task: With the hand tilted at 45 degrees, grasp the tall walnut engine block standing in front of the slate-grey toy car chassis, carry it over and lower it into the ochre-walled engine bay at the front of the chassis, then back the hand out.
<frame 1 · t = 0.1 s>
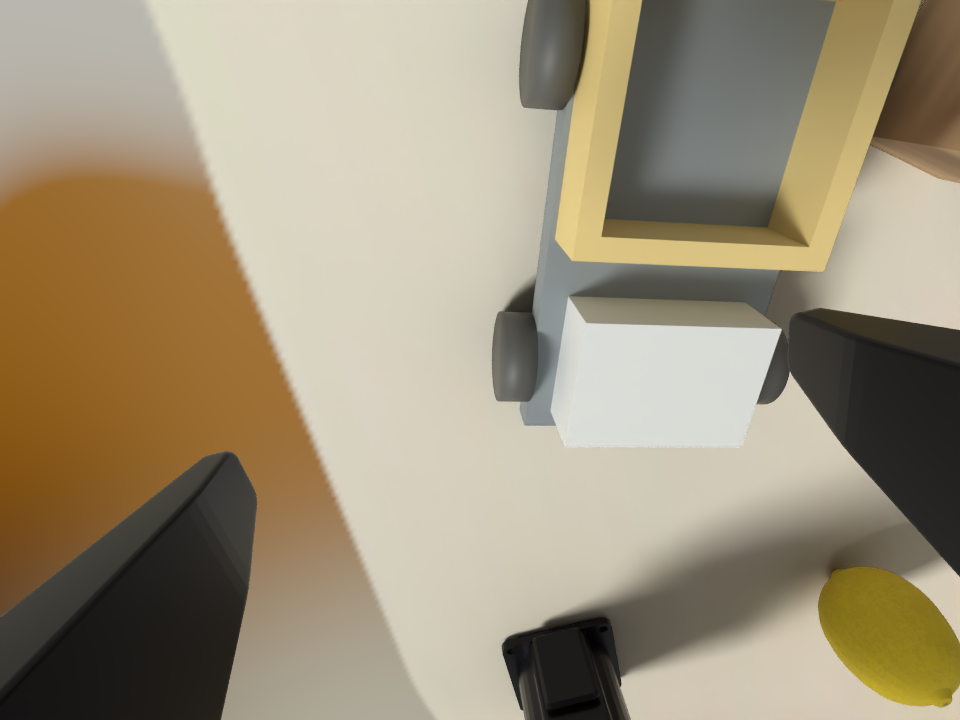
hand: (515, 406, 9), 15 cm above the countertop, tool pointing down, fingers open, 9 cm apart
toy chassis: (646, 216, 23), on the countertop
lemon: (833, 568, 34), on the countertop
walnut block: (935, 91, 22), on the countertop
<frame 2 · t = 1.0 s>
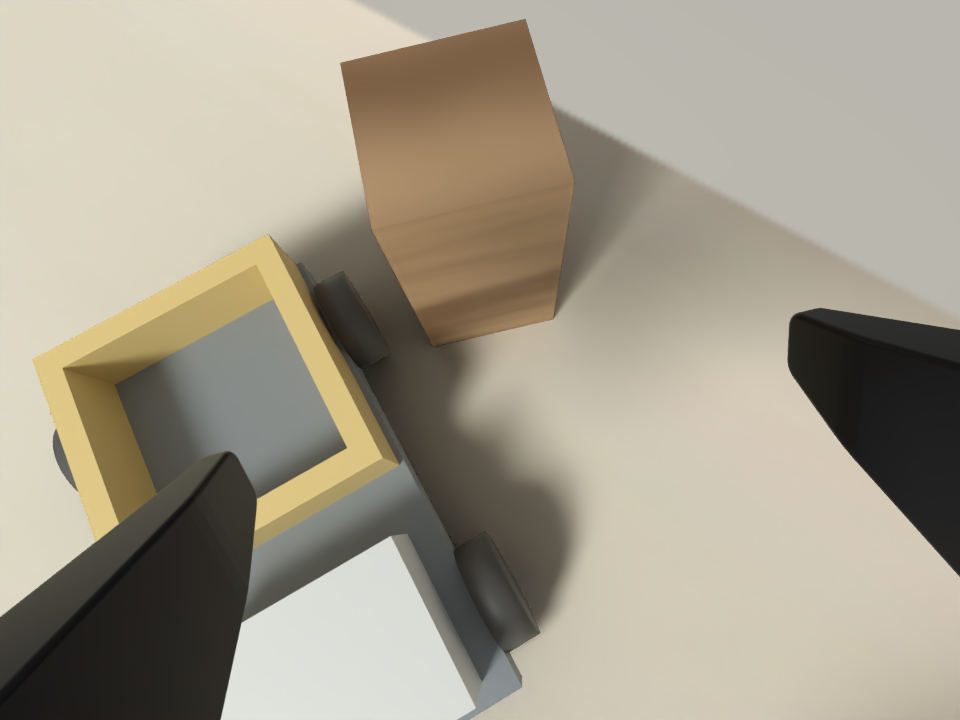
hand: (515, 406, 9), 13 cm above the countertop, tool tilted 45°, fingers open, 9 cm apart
toy chassis: (310, 518, 22), on the countertop
walnut block: (479, 277, 24), on the countertop
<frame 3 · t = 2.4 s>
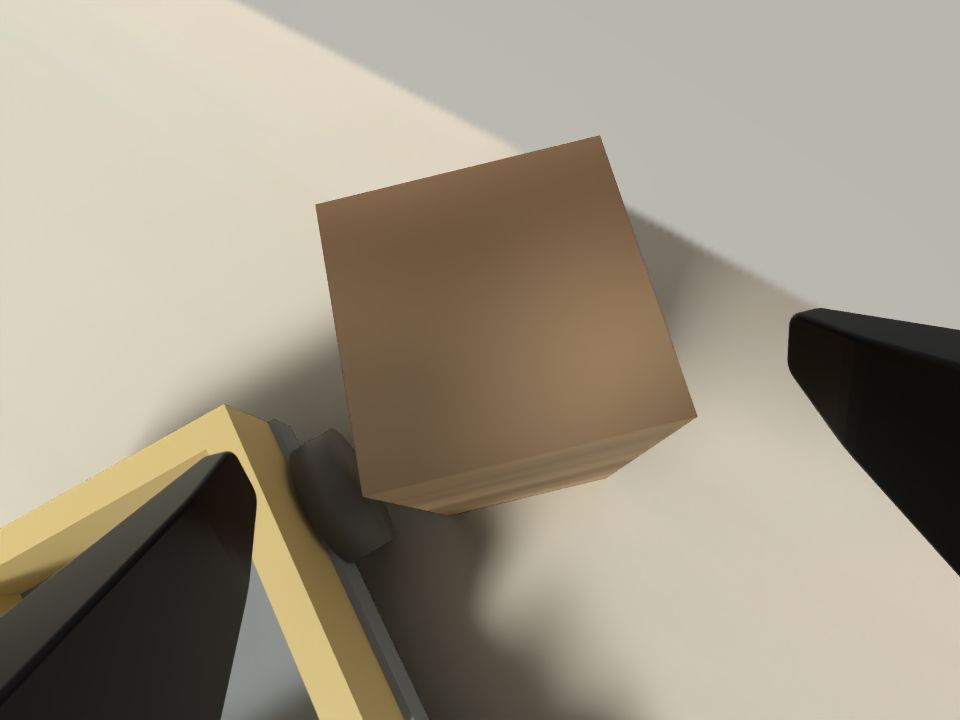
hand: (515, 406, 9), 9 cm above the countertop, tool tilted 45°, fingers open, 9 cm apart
walnut block: (508, 419, 19), on the countertop
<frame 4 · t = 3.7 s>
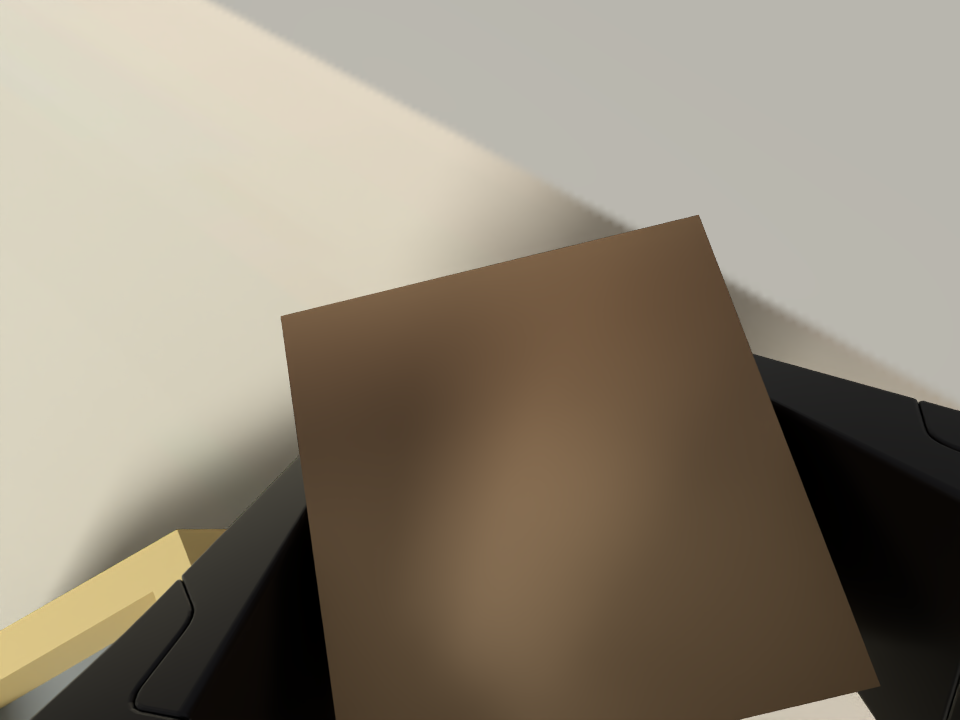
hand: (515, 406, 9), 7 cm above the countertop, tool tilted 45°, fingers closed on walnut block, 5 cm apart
walnut block: (531, 508, 16), on the countertop, touching gripper
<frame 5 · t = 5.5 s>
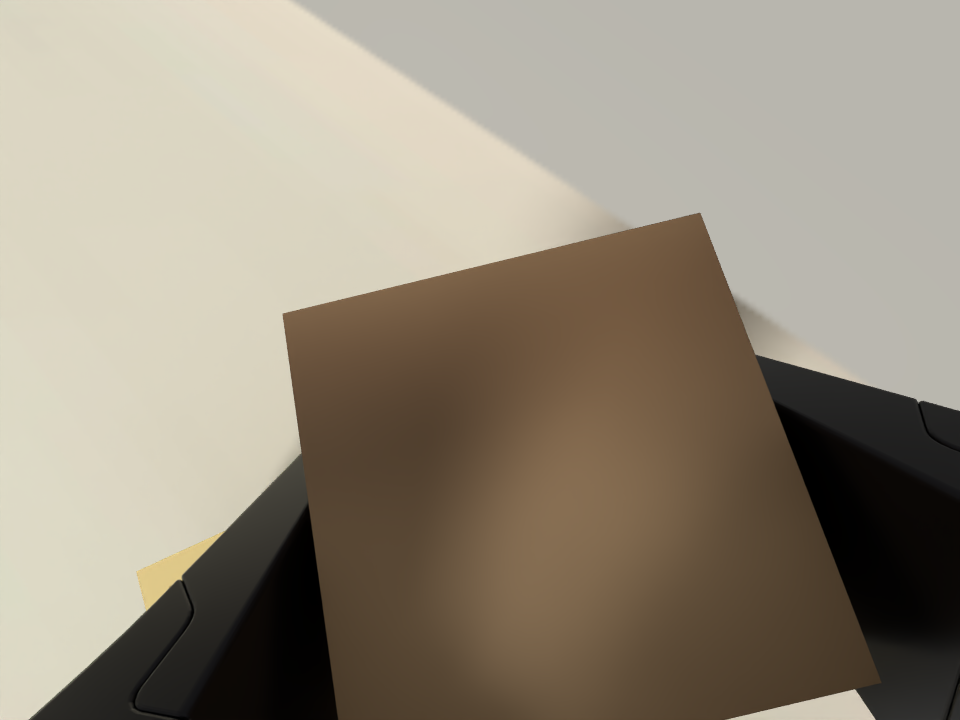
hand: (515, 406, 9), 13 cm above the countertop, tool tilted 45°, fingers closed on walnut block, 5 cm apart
walnut block: (532, 507, 16), point 6 cm above the countertop, touching gripper
when the fingers open (10 cm above the countertop, at t = 7.2 s): walnut block stays where it is, resting on toy chassis.
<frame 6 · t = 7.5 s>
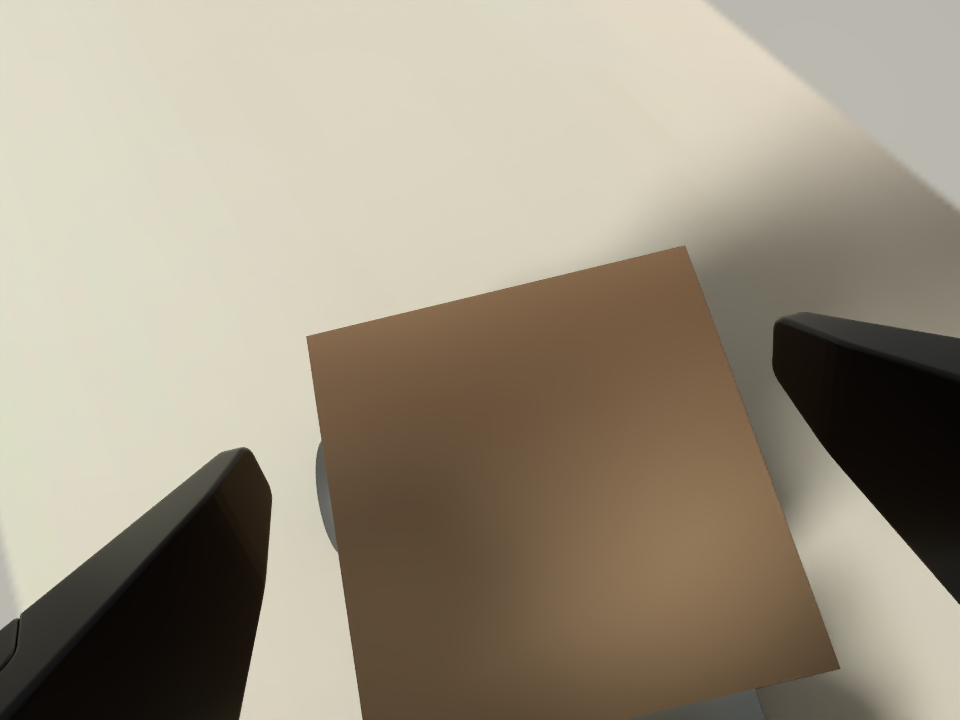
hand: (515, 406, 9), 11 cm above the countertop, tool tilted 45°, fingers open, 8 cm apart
toy chassis: (559, 637, 18), on the countertop
walnut block: (532, 509, 16), point 3 cm above the countertop, touching toy chassis
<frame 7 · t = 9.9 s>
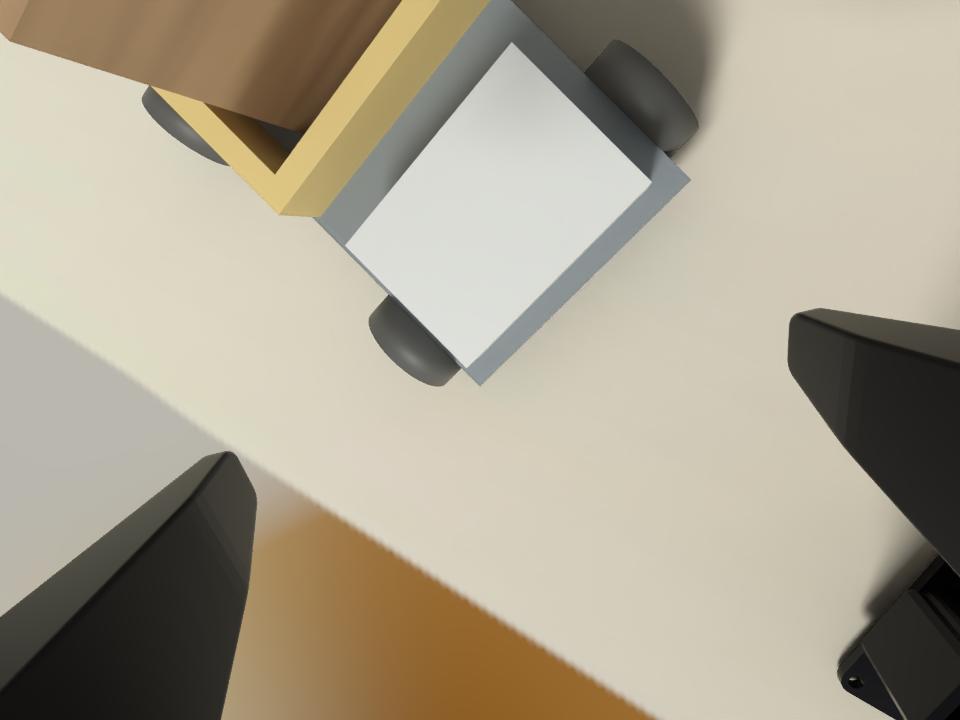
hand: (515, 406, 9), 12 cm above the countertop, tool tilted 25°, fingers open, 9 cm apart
toy chassis: (420, 121, 21), on the countertop
walnut block: (305, 18, 18), point 3 cm above the countertop, touching toy chassis
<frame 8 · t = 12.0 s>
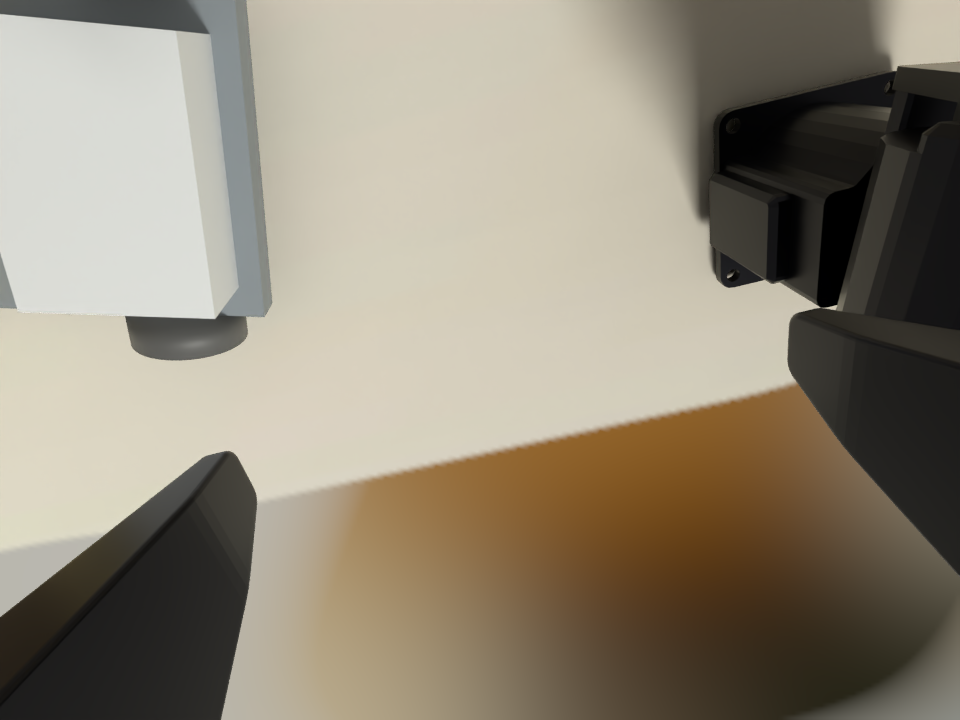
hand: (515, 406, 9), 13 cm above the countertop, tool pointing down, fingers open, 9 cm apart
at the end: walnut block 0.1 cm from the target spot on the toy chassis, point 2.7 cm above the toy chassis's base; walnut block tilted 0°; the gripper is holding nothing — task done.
